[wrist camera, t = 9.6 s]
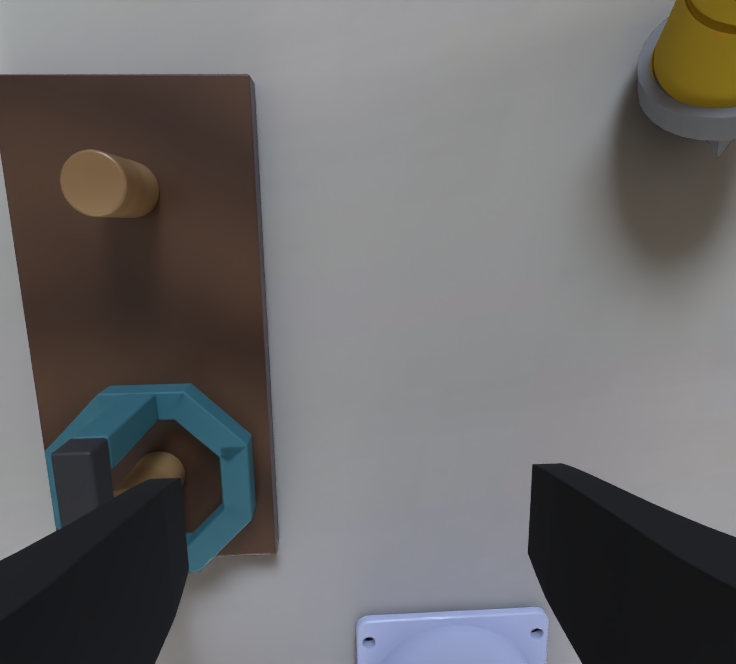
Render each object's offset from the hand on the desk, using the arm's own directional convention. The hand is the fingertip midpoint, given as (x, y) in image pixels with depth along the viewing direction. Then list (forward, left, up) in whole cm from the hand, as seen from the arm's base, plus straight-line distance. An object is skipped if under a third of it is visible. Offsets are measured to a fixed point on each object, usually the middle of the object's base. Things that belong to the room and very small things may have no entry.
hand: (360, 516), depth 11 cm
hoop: (-3, +7, -8) cm, 11 cm away
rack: (+2, +7, -9) cm, 12 cm away
